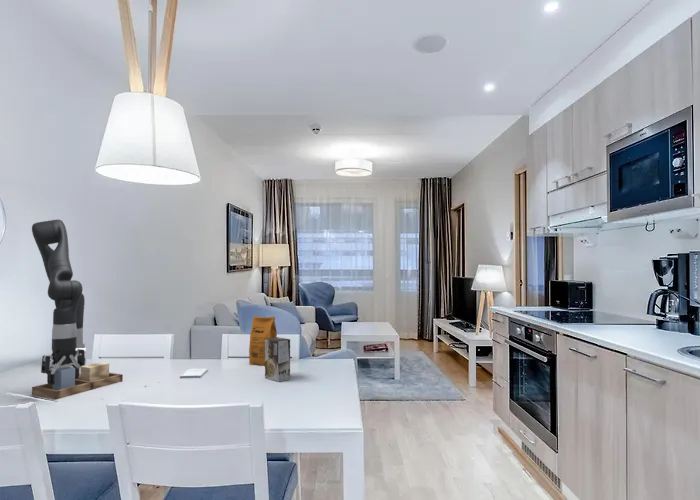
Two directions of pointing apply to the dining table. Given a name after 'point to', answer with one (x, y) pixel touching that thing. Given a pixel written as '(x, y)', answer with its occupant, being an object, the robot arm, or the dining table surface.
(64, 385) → the slate block
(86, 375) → the oak block
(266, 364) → the coffee box
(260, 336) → the coffee package
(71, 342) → the robot arm
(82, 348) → the ink box
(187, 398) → the dining table surface
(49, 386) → the tray
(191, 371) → the external hard drive
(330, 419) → the dining table surface
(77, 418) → the dining table surface
